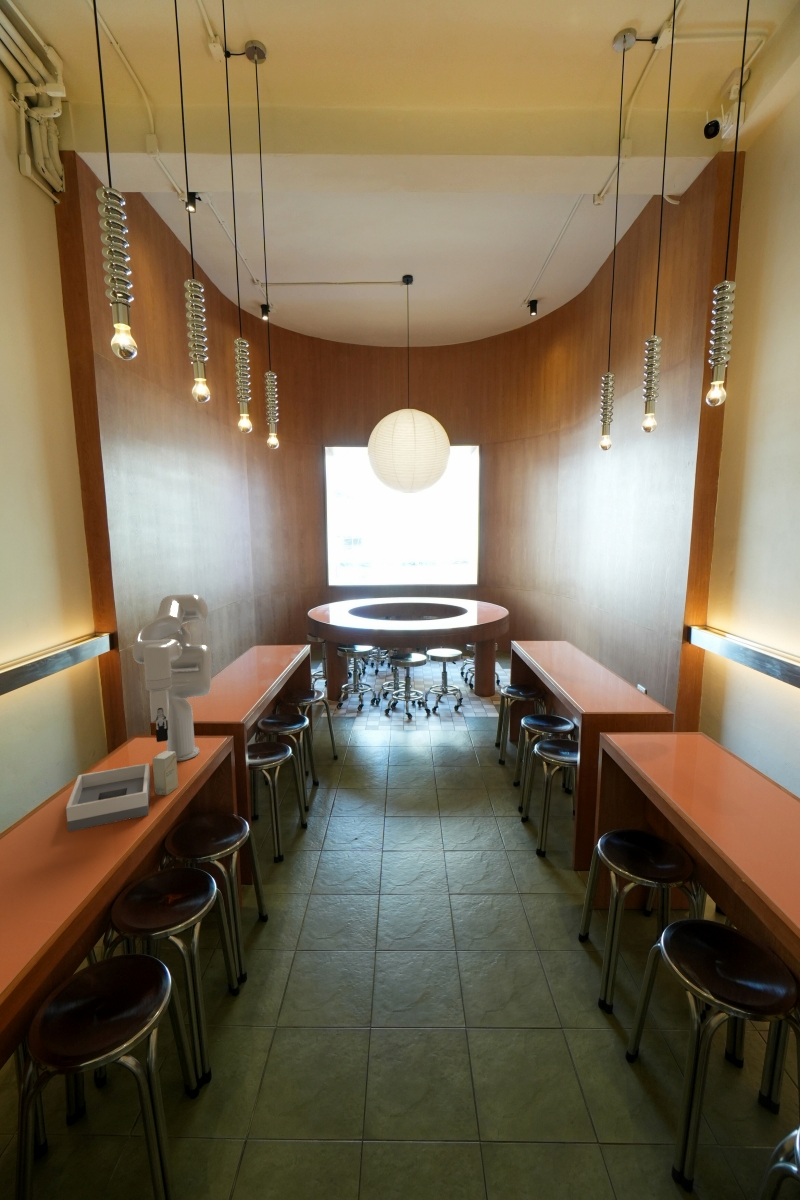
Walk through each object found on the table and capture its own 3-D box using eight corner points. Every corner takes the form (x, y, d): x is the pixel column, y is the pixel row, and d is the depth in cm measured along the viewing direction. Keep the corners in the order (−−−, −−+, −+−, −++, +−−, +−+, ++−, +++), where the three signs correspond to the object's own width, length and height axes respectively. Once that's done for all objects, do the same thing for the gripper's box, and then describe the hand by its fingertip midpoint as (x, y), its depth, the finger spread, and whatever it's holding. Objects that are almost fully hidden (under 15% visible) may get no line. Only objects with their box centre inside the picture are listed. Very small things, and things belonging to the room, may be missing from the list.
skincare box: (166, 796, 163) (164, 759, 161) (154, 794, 163) (151, 758, 162) (179, 786, 169) (176, 751, 167) (167, 785, 170) (164, 750, 168)
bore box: (80, 796, 163) (78, 775, 162) (150, 783, 171) (148, 763, 170) (68, 831, 143) (66, 808, 142) (148, 815, 151) (146, 792, 151)
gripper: (146, 678, 168) (150, 729, 170) (144, 691, 152) (148, 747, 154) (171, 675, 171) (175, 725, 173) (172, 688, 155) (175, 743, 157)
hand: (162, 735), depth 163 cm, fingers open, 9 cm apart
